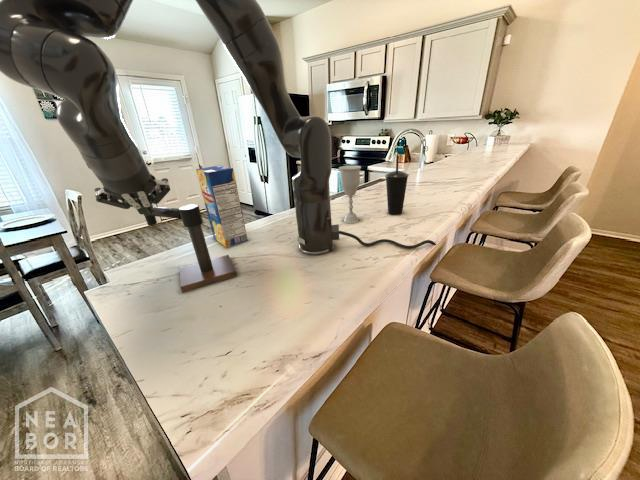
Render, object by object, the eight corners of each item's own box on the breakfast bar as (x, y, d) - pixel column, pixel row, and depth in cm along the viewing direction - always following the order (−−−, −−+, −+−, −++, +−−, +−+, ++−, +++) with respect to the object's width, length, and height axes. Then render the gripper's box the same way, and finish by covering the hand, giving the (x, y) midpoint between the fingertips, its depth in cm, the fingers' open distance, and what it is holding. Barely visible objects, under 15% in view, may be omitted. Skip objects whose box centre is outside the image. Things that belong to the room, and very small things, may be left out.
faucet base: (229, 259, 71) (218, 213, 66) (237, 276, 63) (225, 225, 57) (181, 272, 66) (164, 224, 61) (182, 292, 58) (163, 239, 53)
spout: (208, 226, 60) (202, 204, 58) (194, 232, 57) (188, 210, 55) (156, 221, 67) (150, 201, 65) (142, 226, 63) (134, 206, 61)
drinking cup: (383, 210, 98) (384, 154, 90) (404, 209, 97) (407, 153, 89) (384, 217, 92) (386, 157, 83) (407, 216, 90) (411, 156, 82)
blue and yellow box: (226, 247, 78) (208, 172, 69) (213, 237, 86) (195, 169, 77) (248, 240, 82) (233, 168, 73) (233, 231, 90) (218, 165, 80)
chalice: (364, 218, 92) (364, 165, 84) (356, 225, 87) (355, 169, 79) (346, 216, 95) (344, 165, 88) (337, 222, 90) (334, 169, 83)
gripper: (156, 139, 47) (176, 192, 63) (63, 147, 42) (109, 203, 57) (165, 172, 45) (183, 219, 60) (68, 185, 40) (115, 233, 55)
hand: (147, 212), depth 59 cm, fingers closed
